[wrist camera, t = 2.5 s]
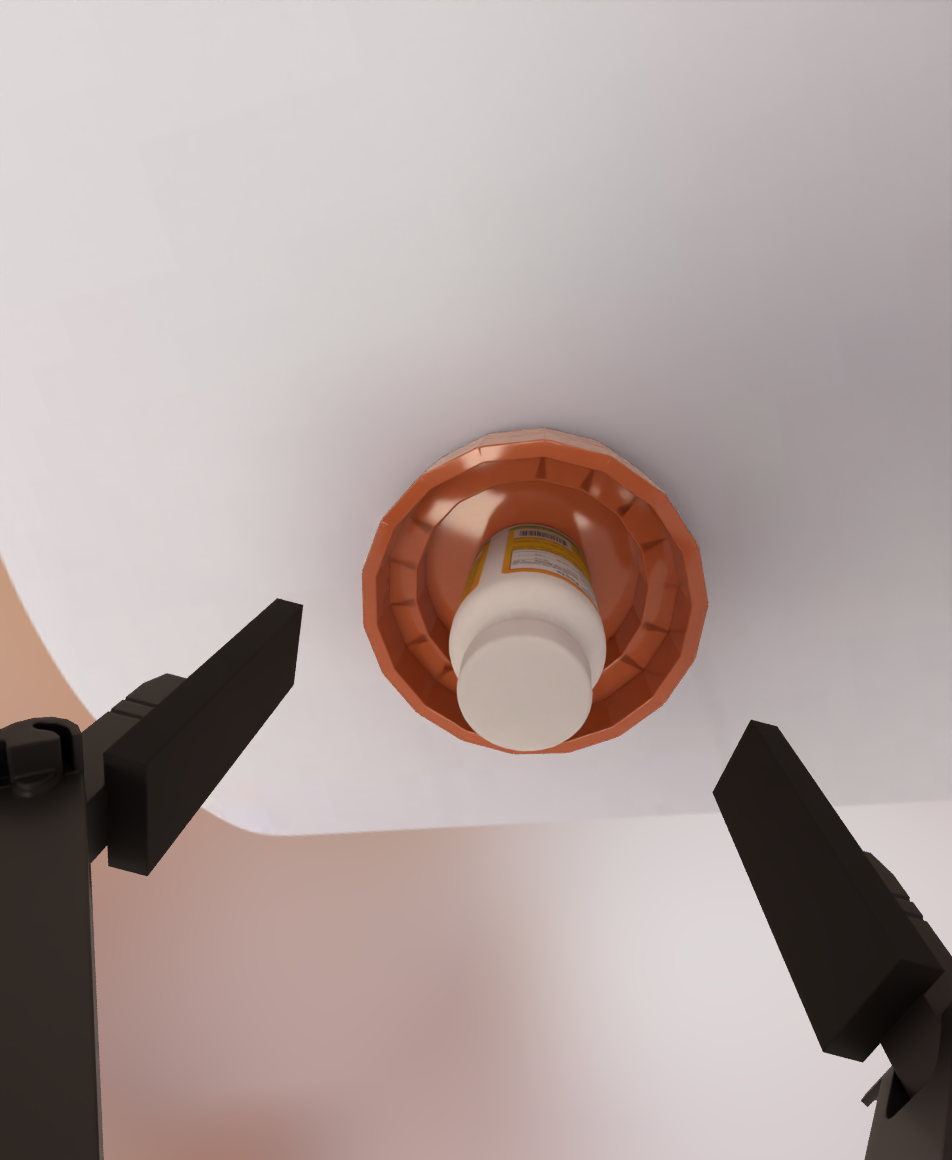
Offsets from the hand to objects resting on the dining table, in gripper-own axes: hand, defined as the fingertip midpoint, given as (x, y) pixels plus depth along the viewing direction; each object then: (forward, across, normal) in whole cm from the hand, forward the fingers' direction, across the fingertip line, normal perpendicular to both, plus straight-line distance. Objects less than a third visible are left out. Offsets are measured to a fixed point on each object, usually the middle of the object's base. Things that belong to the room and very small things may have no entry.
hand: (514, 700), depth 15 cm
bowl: (+10, 0, 0) cm, 10 cm away
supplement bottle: (+10, 0, 0) cm, 10 cm away
